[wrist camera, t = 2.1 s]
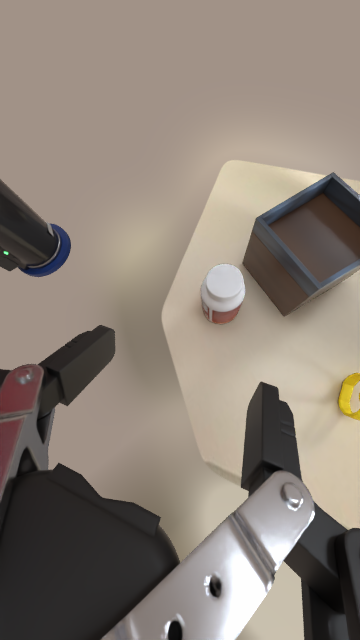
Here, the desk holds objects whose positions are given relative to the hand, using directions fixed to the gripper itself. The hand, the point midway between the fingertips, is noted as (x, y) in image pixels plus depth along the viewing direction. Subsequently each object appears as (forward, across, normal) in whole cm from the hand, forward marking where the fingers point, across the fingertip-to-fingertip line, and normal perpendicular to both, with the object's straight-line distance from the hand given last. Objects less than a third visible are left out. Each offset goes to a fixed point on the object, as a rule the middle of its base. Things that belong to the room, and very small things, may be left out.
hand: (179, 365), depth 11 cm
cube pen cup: (+33, -10, +2) cm, 34 cm away
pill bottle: (+26, 0, +9) cm, 27 cm away
